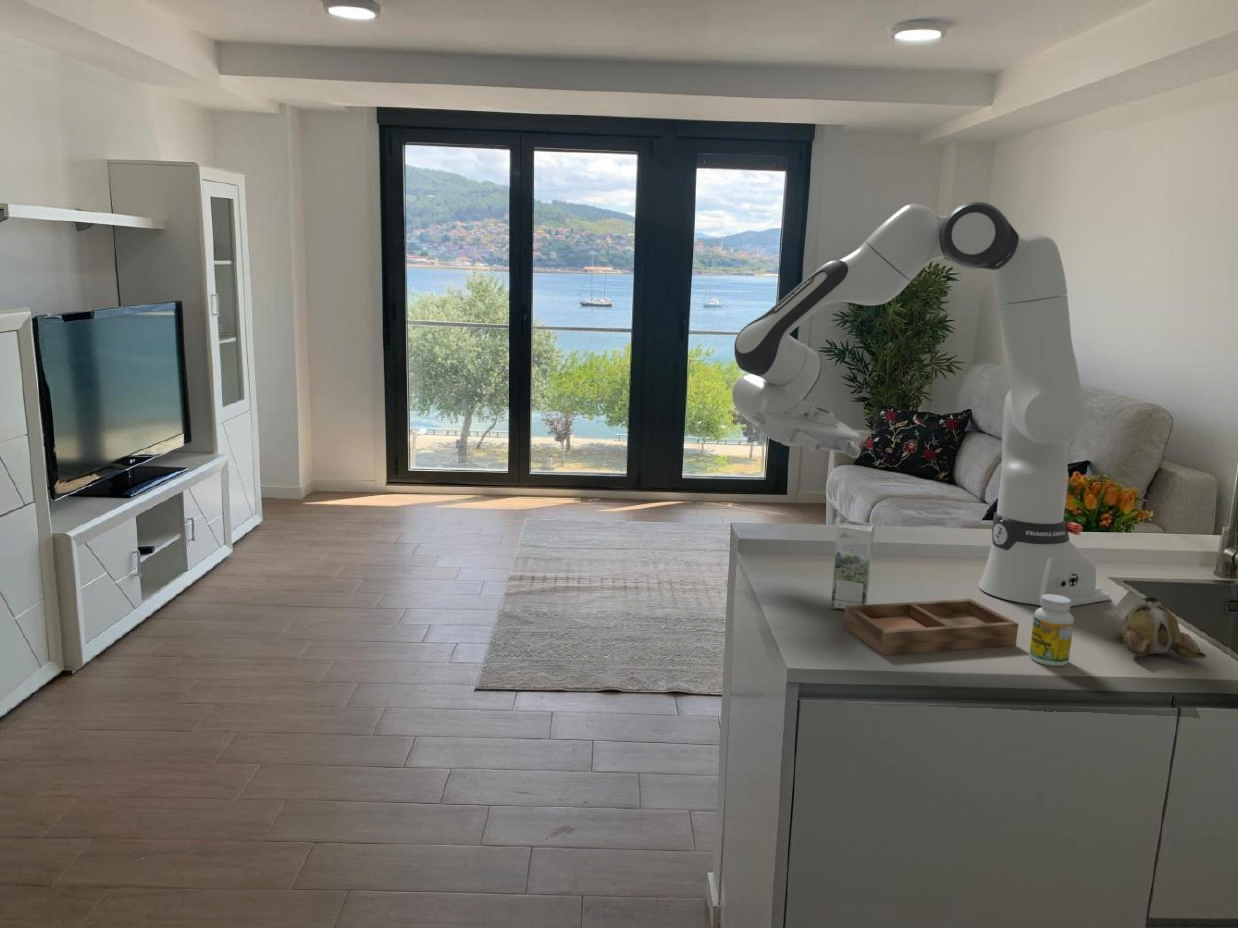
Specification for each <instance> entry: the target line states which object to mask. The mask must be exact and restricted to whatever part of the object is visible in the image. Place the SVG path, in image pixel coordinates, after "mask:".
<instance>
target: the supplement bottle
mask: <svg viewBox="0 0 1238 928" xmlns="http://www.w3.org/2000/svg"><path fill="white" fill-rule="evenodd" d="M1040 604H1041V606H1040V607H1039V608H1037V609H1036V610H1035V611H1034V613H1033V618H1032V619H1033V621H1032V627H1031V628H1032V629H1031V638H1030V648H1029V657H1030V658H1031V659H1032V660H1033V661H1034V662H1036V663H1038V664H1042V665H1046V666H1050V667H1064V666H1067V664H1069V661H1070V653H1071V645H1072V639H1073V630H1074V623H1075V622H1074V620H1075V618H1074V616H1073V614H1072V613H1071V612H1069V611H1070V609H1071V606H1070V604H1071V600H1070V599H1068V598H1066V597H1064V596H1060V595H1054V594H1045V595H1042V596H1041V601H1040Z"/></svg>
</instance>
